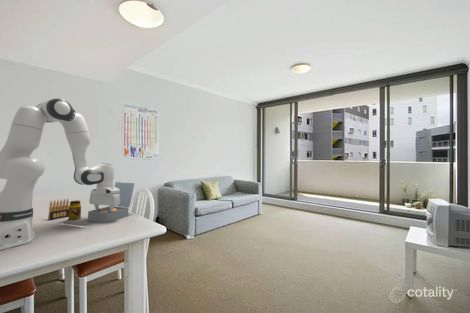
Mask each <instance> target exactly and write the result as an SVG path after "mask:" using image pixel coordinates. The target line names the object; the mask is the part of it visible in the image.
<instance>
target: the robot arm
mask: <svg viewBox="0 0 470 313" xmlns="http://www.w3.org/2000/svg"><path fill="white" fill-rule="evenodd" d="M55 122H56V123H57V122H58V123H60V124H61V125H62V127H63V129H64V134H65V137H66V141H67V144H68V146H69V149H70V151H71V155H72V160H73V164H74V173H73V180H74V182H75V183H76V184H78V185H81V186H82V185H85V186H93V185H96V188H93V189H92V190H91V191H90V194H89V201H88V203H89V204H90V205H94V208H95V209H94V210H96V212H99V211H100V208H101V207H99V206H106V207H108V206H110V209H109V210H108V213H109V212H112V210H113V208H114V206H115V207H119V206H118V205H119V204H120V194H119V192H120V189H118V188H116V187H115V185H114V181H113V180H114V178H115V177H114V176H115V173H114V166H113V165H112V164H110V163H104V162H100V163H98V164H96V165H95V166H92V167H89V166H88V160H87V156H86V151H87V149H88V147H89V146H90V144H91V134H90V130H89V127H88V124H87V122H86V120H85V117H84V116H83V115H82V113H81V114H80V113H79V112H76V111H75V109H74V108H73V106H72V104H71V103H70V102H68V101H67V100H65V99H62V98H51V99H47V100H45V101H44V102H41V103H39V104H37V105H36V106H33V105H22V106H20V107H19V108H18V109H17V111H16V113H15V115H14V117H13V119H12V122H11V124H10V128H9V132H8V134H7V138H6V141H5V143H4V146H3V147H2V148H1V150H0V180H1V179H2V180H6V181H5V184H4V187H3V188H2V190H1V191H0V251H2V250H6V249H10V248H13V247H17V246H22V245H26V244H29V243H32V240H34V239H36V234H35V231H34V226H33V217H34V208H33V196H34V195H33V194H34V189H35V186H36V184H37V182H38V179H39V178H41V177H42V175H43V174H44V172H45V170H46V167H45V164H44V162H43V161H42V160H41V159H38V158H36V157H32V154H33V153H34V151H36V149H38V147H39V146H40V142H41V139H42V136H43V131H44V126H45V124H46V123H55Z"/></svg>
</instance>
